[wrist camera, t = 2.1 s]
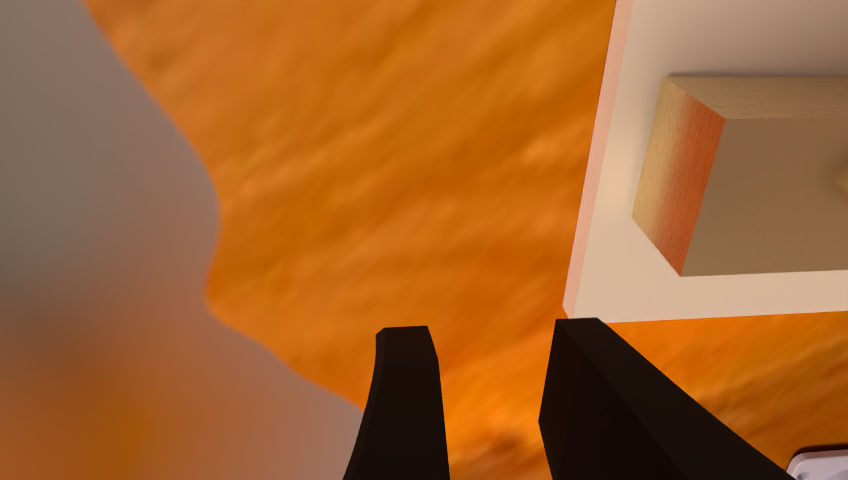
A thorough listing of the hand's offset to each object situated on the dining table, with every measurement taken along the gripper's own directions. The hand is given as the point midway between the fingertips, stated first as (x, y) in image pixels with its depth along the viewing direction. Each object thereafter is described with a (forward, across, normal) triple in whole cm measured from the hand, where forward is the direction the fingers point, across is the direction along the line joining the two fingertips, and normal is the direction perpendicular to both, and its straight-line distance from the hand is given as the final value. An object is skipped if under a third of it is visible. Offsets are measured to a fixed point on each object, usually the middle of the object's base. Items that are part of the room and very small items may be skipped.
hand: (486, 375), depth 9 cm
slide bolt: (+8, -11, 0) cm, 14 cm away
